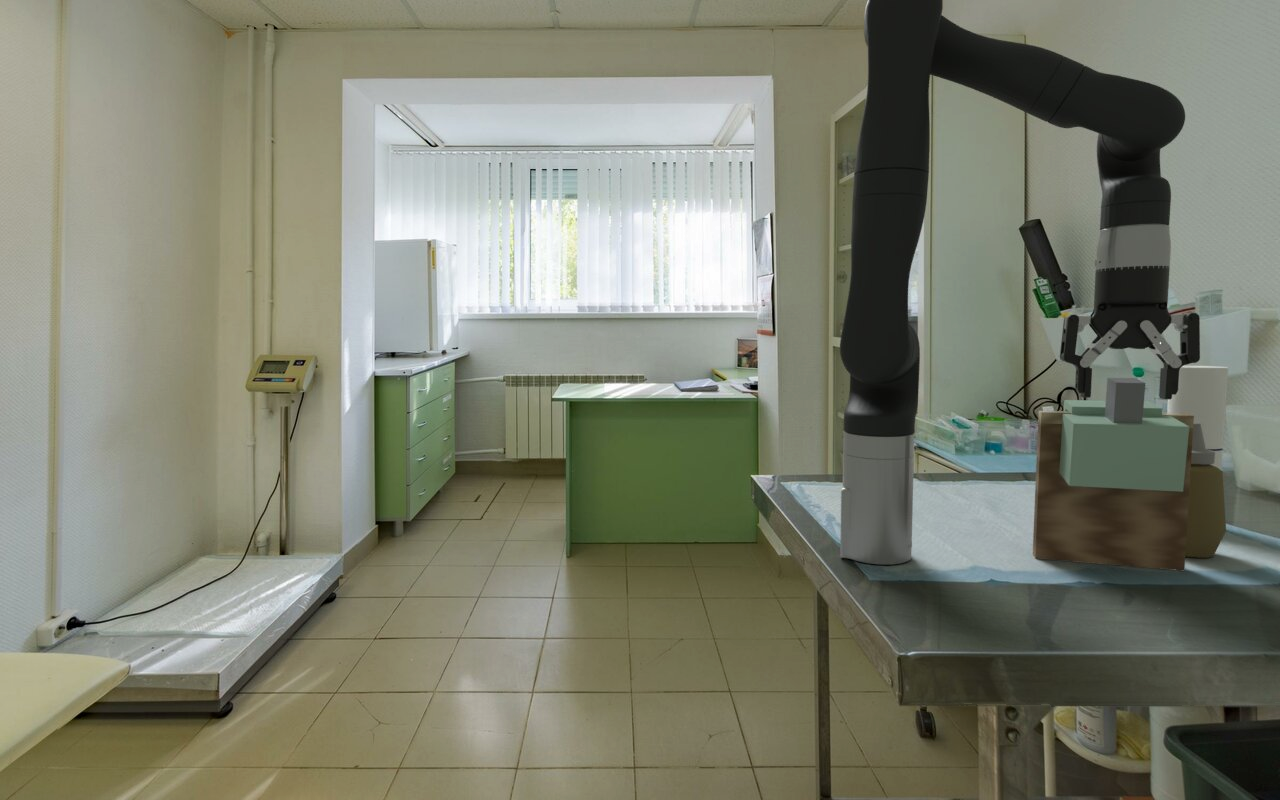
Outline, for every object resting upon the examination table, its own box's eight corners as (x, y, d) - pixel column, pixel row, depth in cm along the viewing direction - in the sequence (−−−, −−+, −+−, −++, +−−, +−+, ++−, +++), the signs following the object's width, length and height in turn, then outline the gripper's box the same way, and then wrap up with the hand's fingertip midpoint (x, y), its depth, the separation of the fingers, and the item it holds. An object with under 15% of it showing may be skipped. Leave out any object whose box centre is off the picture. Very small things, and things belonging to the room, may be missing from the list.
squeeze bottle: (1220, 549, 101) (1228, 422, 100) (1228, 565, 94) (1238, 429, 93) (1150, 541, 106) (1156, 418, 104) (1153, 555, 99) (1160, 425, 97)
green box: (1069, 485, 91) (1076, 383, 88) (1051, 463, 101) (1057, 370, 98) (1183, 491, 87) (1193, 384, 84) (1153, 467, 97) (1161, 371, 94)
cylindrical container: (1228, 533, 109) (1239, 368, 107) (1175, 531, 110) (1184, 368, 108) (1201, 521, 116) (1211, 365, 114) (1152, 519, 117) (1160, 365, 115)
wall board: (1035, 558, 98) (1041, 412, 96) (1026, 544, 105) (1031, 406, 103) (1184, 570, 93) (1193, 415, 91) (1165, 554, 99) (1173, 410, 97)
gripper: (1072, 265, 87) (1066, 399, 89) (1215, 260, 82) (1206, 402, 84) (1059, 270, 94) (1053, 394, 96) (1189, 266, 89) (1181, 396, 91)
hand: (1124, 398), depth 90 cm, fingers open, 8 cm apart
